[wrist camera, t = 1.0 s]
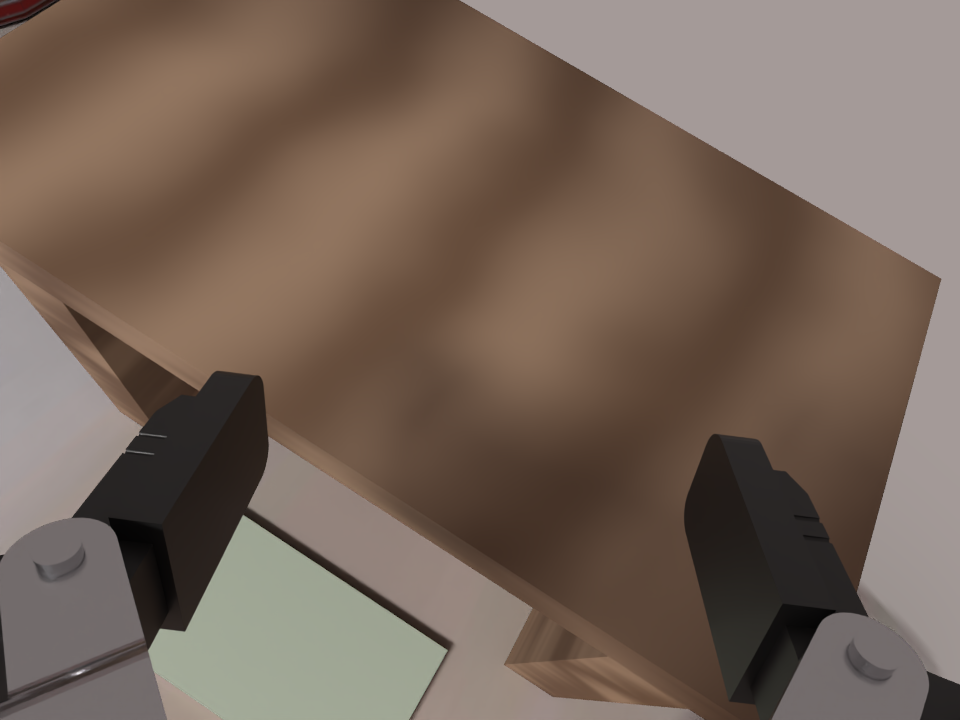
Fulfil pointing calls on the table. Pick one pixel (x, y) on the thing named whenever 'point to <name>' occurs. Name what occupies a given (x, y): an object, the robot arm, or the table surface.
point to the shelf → (458, 295)
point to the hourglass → (20, 9)
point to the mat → (293, 642)
